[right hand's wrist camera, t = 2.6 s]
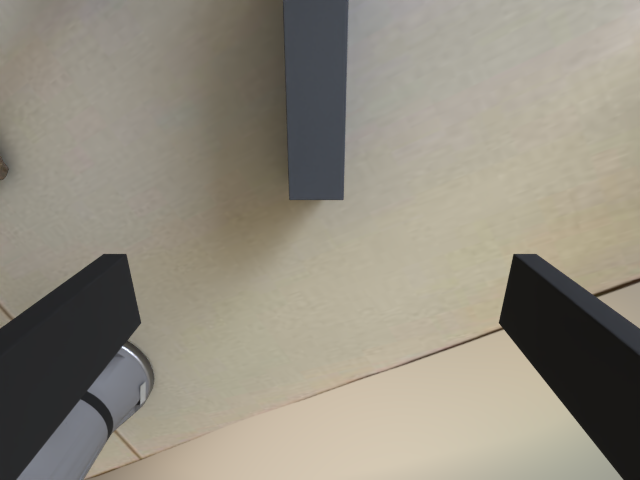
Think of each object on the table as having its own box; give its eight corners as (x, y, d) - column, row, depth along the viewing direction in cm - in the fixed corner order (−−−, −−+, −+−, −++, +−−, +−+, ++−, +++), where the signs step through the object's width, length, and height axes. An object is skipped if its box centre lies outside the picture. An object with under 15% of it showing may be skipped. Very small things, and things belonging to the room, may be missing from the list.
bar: (339, 183, 45) (343, 200, 38) (294, 183, 45) (289, 200, 38) (344, -69, 36) (351, -112, 29) (287, -69, 36) (279, -113, 29)
